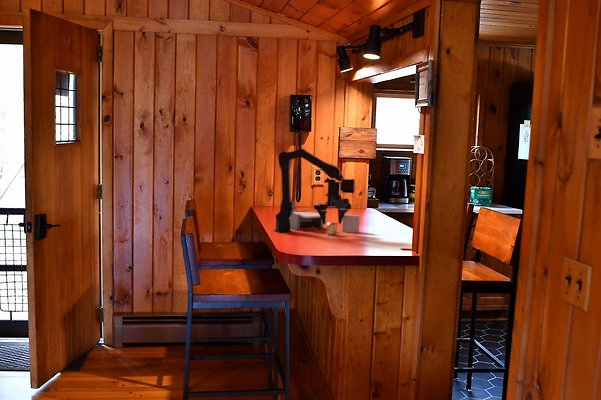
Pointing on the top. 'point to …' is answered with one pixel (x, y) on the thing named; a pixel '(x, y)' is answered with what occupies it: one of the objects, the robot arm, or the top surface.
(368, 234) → the top surface
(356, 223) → the medicine box
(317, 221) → the trapdoor stand
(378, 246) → the top surface
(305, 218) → the trapdoor flap
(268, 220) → the top surface
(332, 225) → the cylinder
